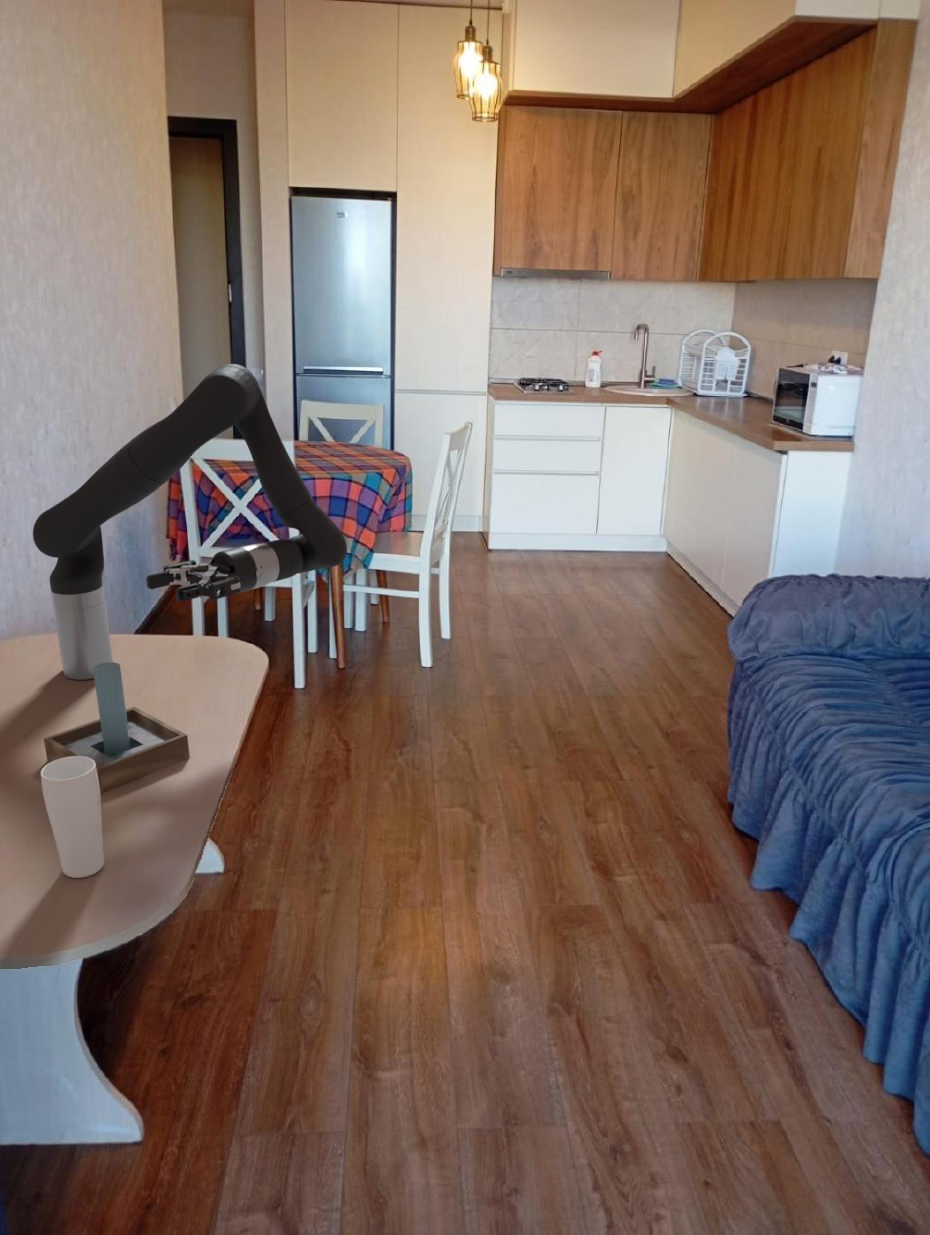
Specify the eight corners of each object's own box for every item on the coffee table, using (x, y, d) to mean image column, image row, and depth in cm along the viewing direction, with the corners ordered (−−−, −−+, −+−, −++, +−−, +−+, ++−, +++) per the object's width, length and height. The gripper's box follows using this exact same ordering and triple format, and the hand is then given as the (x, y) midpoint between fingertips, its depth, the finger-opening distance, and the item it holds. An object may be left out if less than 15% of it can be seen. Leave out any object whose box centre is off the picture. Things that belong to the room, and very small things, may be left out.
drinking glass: (47, 869, 132) (30, 768, 127) (95, 848, 137) (80, 750, 132) (71, 889, 128) (55, 786, 123) (120, 867, 133) (106, 766, 127)
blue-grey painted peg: (101, 759, 161) (88, 667, 156) (123, 750, 164) (111, 660, 158) (114, 767, 159) (101, 674, 153) (136, 758, 161) (124, 666, 156)
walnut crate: (47, 760, 161) (43, 738, 159) (137, 727, 172) (134, 706, 170) (97, 794, 150) (94, 771, 149) (189, 757, 162) (187, 734, 160)
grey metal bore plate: (54, 760, 161) (52, 746, 160) (135, 730, 171) (133, 717, 170) (100, 790, 152) (97, 776, 151) (182, 757, 162) (181, 743, 161)
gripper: (220, 538, 174) (136, 557, 163) (270, 556, 166) (185, 576, 154) (222, 579, 177) (140, 600, 166) (272, 598, 168) (189, 622, 157)
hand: (162, 589), depth 160 cm, fingers open, 8 cm apart
